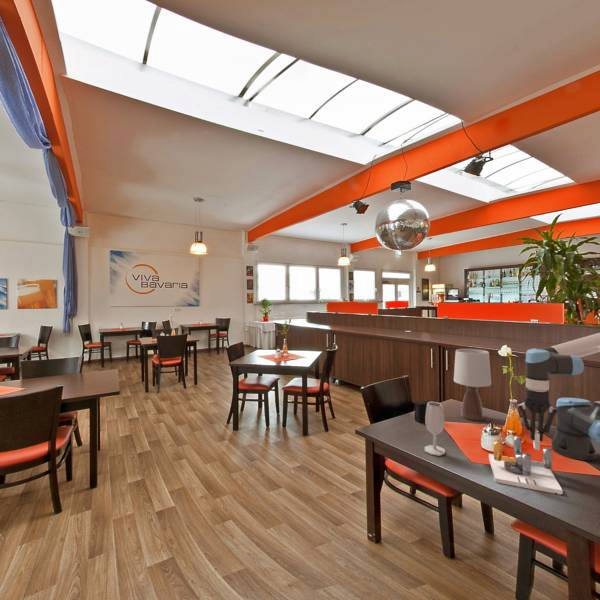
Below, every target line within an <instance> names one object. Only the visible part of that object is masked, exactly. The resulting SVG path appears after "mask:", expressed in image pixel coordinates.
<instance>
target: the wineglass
mask: <svg viewBox="0 0 600 600" xmlns="http://www.w3.org/2000/svg"><path fill="white" fill-rule="evenodd" d="M444 413H445V412H444V407H443V406H442V403H440V402H436V401H431V402H428V404H427V407H426V413H425V422H424V423H425V427H426V430H427V431H428V432H429V433H430V434H432V444H429V445H426V446H424V452H425V453H427V454H429V455H431V456H438V457H441V456H443V455H444V456H445V454H446V450H445V448H443V447H441V446H439V445H437V435H439V434H440V433H441V432H443V431H444V427H445V415H444Z"/></svg>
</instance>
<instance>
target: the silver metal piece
mask: <svg viewBox="0 0 600 600" xmlns="http://www.w3.org/2000/svg"><path fill="white" fill-rule="evenodd" d="M522 441H523V440H522V436H520V435H514V436H513V454H514V457H512V458H510V457H511V456H510V457H509V456H505V455H504V456H505V457H504V456H503V453H502V451H503V450H502V447H503V445H502V441H500V440H494V441H493V455H494V459H495V460H497V461H505V462H504V467H505V468H506V469H507V470H509V471H511V472H513V473H517V474H524V475H527V476H531V466H537V467H543V468H546V469H550V470H552V468H553V467H552V466H553V464H552V463H553V462H552V460H553V459H552V458H553V449H552V448H549V447H543V449H542V462H543V463H541V461H537V462H535V461H536V460H532V455H531V454H529V453H527V452H525V453H523V452H522V451H523V450H522Z"/></svg>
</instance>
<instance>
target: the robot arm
mask: <svg viewBox="0 0 600 600" xmlns="http://www.w3.org/2000/svg"><path fill="white" fill-rule="evenodd" d="M598 353H600V332H598V333H597V332H596V333H594V334H590V335H587V336H583V337H580V338H575V339H572V340H568V341H567V342H562V343H559V344H555V345H551V346H548V347H545V348H538V347H537V348H535V347H533V348H530V349H528V350H527V351H526V354H525V360H524V361H525V399H524V400H523V402H522V403H518V404H517V408H518V409H519V410H520V413H521V417H522V421H523V425H524V428H525V430H526V431H529V432H530V435H529V436H530V437H529V438H530V439H531V441H532V442H533V445H532V446H533V448H534V450H536V451H540V447H541V446H540V444H541V443H540V442H543V439H544V435H545V433H546V434H549V432H550V430H551V426H552V423H553V420H554V417H555V415H556V417H555V418H556V420H555V422H556V423H555V424H556V425H555V427H556V429H555V430H556V431H555V433H554V436H553V438H552V440H551V443H550V444H551V450H552V451H554V452H555V453H556V454H557V453H558V454H559V455H562V456H564V457H567V458H571V459H575V460H581V461H594V460H596V459H597V455H598V453H597V449H596V446H595V443H594V442H596V443H597V444H600V400H598V401H597V400H596V401H593V403H592V402H591V400H588V399H585V398H577V397H560V398H558V399H557V400H556V404H555V405H556V406H555V407H553V406H552V405H551V404H550V392H549V390H550V376H551V375H555V376H556V375H559V376H560V375H561V376H562V375H563V376H564V375H565V376H569V375H570V376H574V375H580V374H582V373H583V372H584V368H585V367H584V366H585V364H584V361H583V359H582V358H583V357H587V356H589V355H594V354H598ZM526 408H527V409H528V411H529V412H530V413H529V414H530V415H529V417H530V418H529V419H530V421H528V417H527V413H526ZM547 410H548V413H547V417H546V419H545V422H544V417H545V413H546V411H547ZM536 414H537V415H536ZM536 416H537V430H536ZM529 423H530V424H529Z"/></svg>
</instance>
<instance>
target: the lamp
mask: <svg viewBox="0 0 600 600" xmlns="http://www.w3.org/2000/svg"><path fill="white" fill-rule="evenodd" d="M454 358H455V359H454V371H453V382H454V383H456V384H458V385H460V386H461V385H462V386H465V388H466V391H465V394H464V396H463V399H462V404H461V412H460V414H461V418H463V419H465V420H469V421H473V422H474V421H476V422H478V421H483V420H484V418H485V417H484V411H483V404H482V400H481V397H480V394H479V392H478V390H479V388H484V387H485V388H486V387H490V386H491V385H492V375H491V361H490V352H489V351H487V350H483V349H478V348H457V349H456V350H455V355H454Z"/></svg>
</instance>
